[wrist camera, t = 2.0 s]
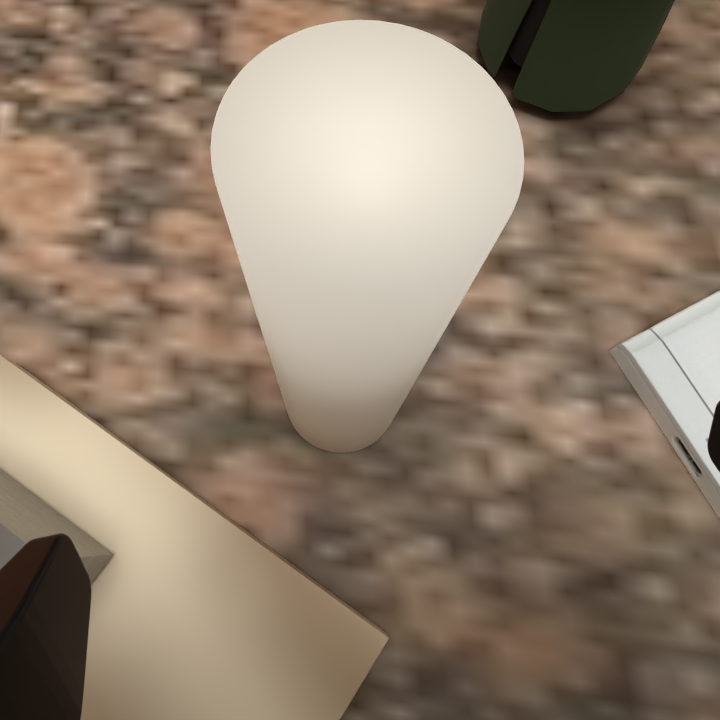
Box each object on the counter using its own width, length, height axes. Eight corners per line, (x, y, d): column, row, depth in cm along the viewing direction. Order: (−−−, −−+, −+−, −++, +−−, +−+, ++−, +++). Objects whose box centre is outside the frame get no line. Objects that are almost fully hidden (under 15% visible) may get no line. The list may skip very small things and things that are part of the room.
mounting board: (78, 1133, 14) (55, 1187, 13) (-338, 757, 16) (-390, 774, 15) (384, 631, 18) (389, 638, 16) (17, 363, 19) (-3, 352, 18)
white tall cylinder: (356, 475, 19) (415, 355, 6) (262, 410, 19) (143, 174, 7) (418, 383, 20) (578, 118, 7) (327, 322, 20) (331, -27, 8)
